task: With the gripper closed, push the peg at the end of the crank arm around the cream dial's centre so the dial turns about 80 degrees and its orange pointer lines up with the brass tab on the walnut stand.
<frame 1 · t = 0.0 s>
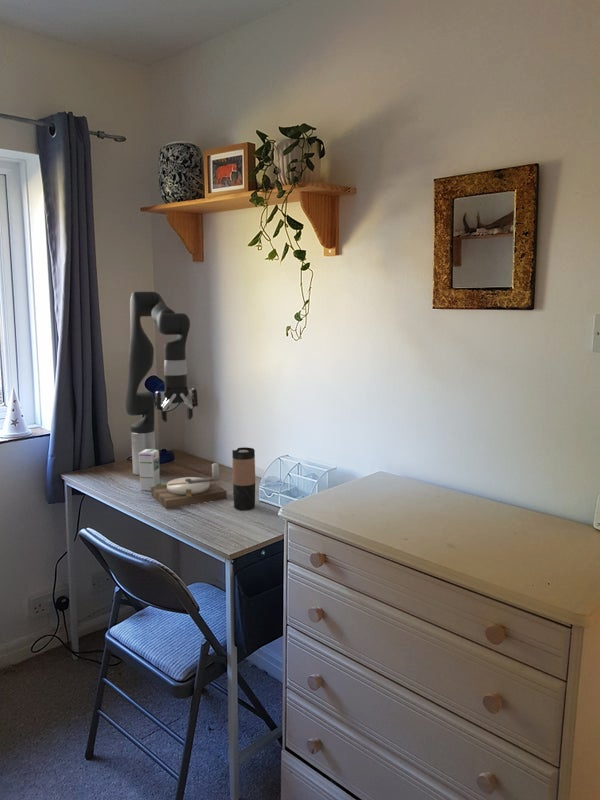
hand: (177, 420, 218), 29 cm above the table, tool pointing down, fingers open, 8 cm apart
dial: (193, 477, 229), point 7 cm above the table, hinge at -98.0°
syrup box: (150, 489, 240), on the table
dial stand: (188, 497, 229), on the table
travel mug: (244, 507, 218), on the table
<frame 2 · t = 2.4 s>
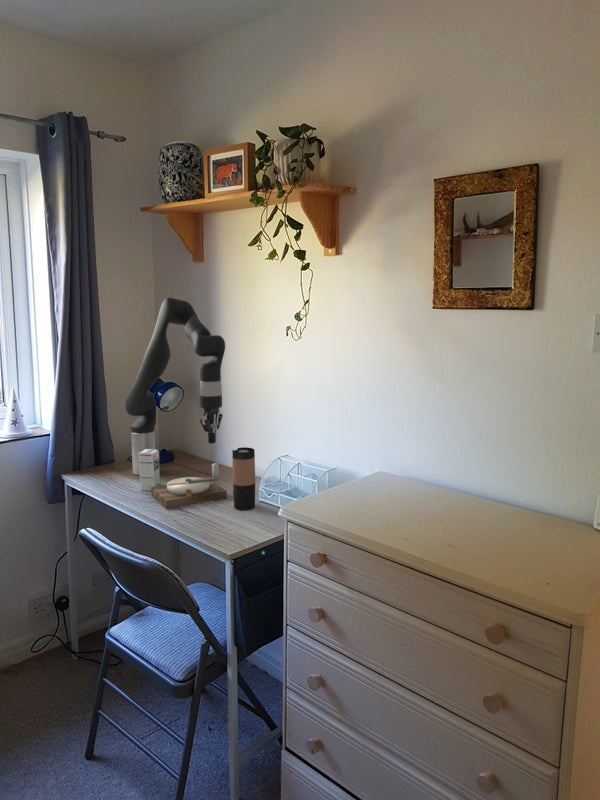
hand: (212, 442, 223), 21 cm above the table, tool pointing down, fingers closed
nothing on the table moved.
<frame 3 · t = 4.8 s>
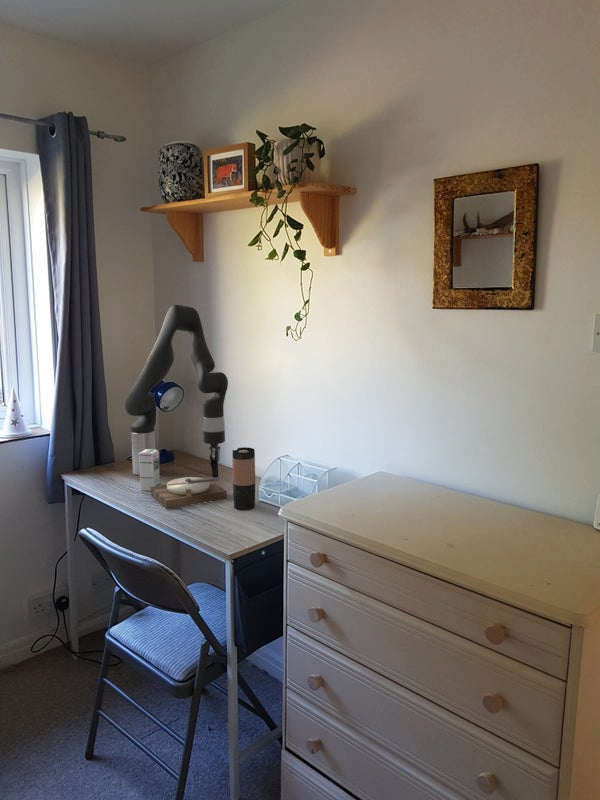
hand: (215, 476, 228), 7 cm above the table, tool pointing down, fingers closed
dial: (193, 477, 229), point 7 cm above the table, hinge at -97.1°, touching gripper
everything else where it was.
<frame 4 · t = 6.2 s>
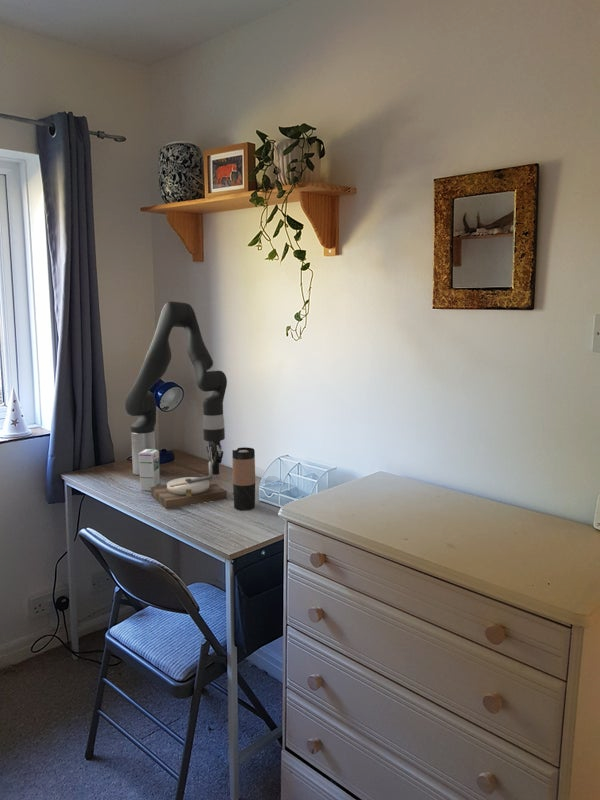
hand: (215, 474, 231), 8 cm above the table, tool pointing down, fingers closed
dial: (192, 476, 229), point 7 cm above the table, hinge at -79.7°, touching gripper
everything else where it was.
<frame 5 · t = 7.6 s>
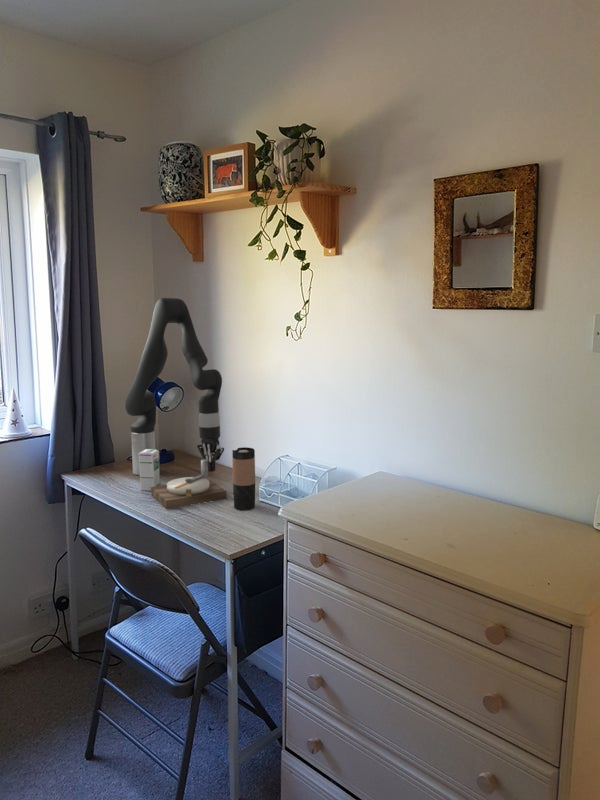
hand: (211, 471, 234), 8 cm above the table, tool pointing down, fingers closed
dial: (191, 476, 230), point 7 cm above the table, hinge at -55.8°, touching gripper
everything else where it was.
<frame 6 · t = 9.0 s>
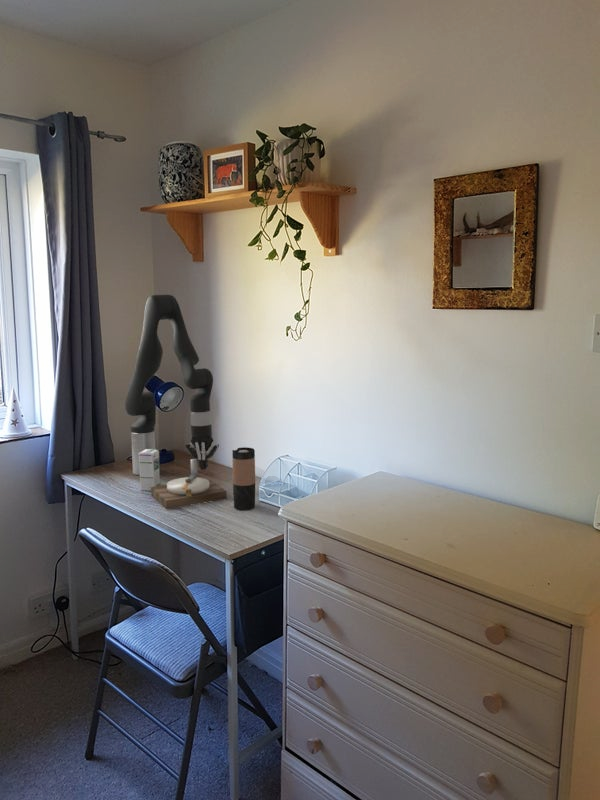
hand: (203, 469, 237), 8 cm above the table, tool pointing down, fingers closed
dial: (189, 476, 230), point 7 cm above the table, hinge at -31.9°, touching gripper
everything else where it was.
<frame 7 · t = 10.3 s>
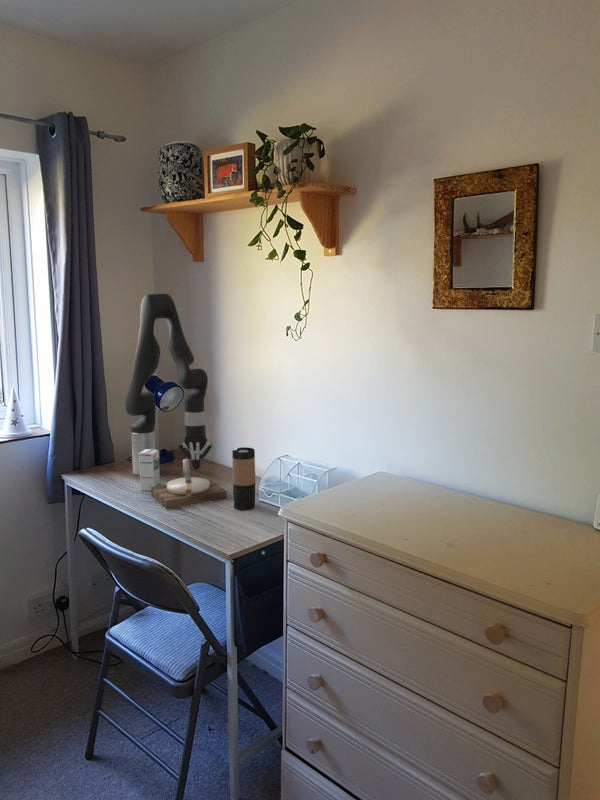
hand: (196, 469, 238), 8 cm above the table, tool pointing down, fingers closed
dial: (187, 476, 230), point 7 cm above the table, hinge at -16.0°
everything else where it was.
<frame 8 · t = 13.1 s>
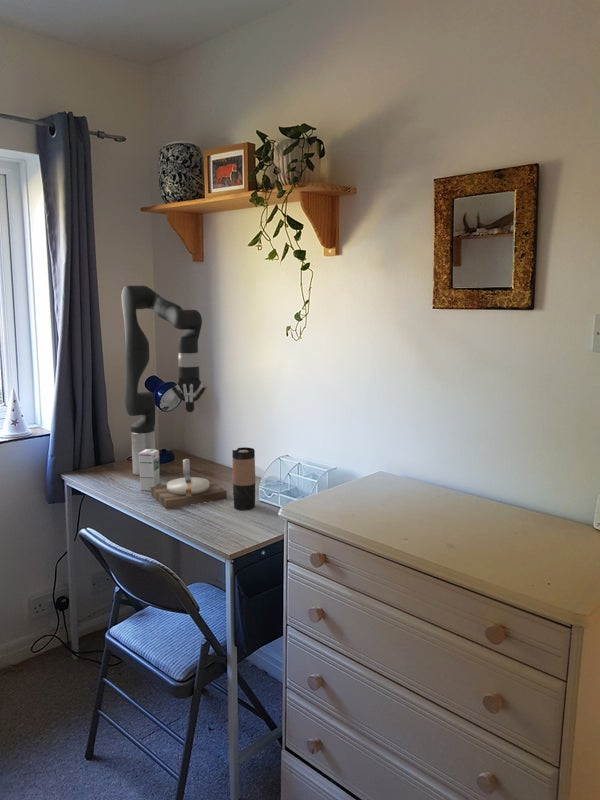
hand: (190, 411, 236), 29 cm above the table, tool pointing down, fingers closed
nothing on the table moved.
at the end: dial at -16° (first picture: -98°); syrup box moved 0.2 cm from its start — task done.
